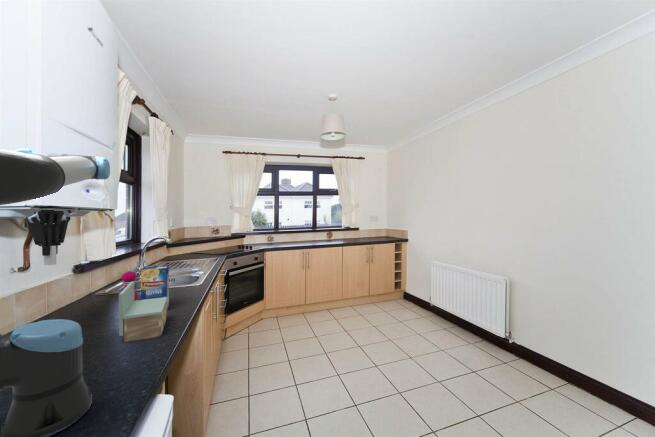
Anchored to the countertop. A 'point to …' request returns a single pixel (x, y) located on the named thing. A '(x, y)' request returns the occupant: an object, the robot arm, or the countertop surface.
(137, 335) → the wooden box
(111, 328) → the countertop surface
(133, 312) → the grey-green angled piece
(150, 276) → the blue food box
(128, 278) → the pepper mill
